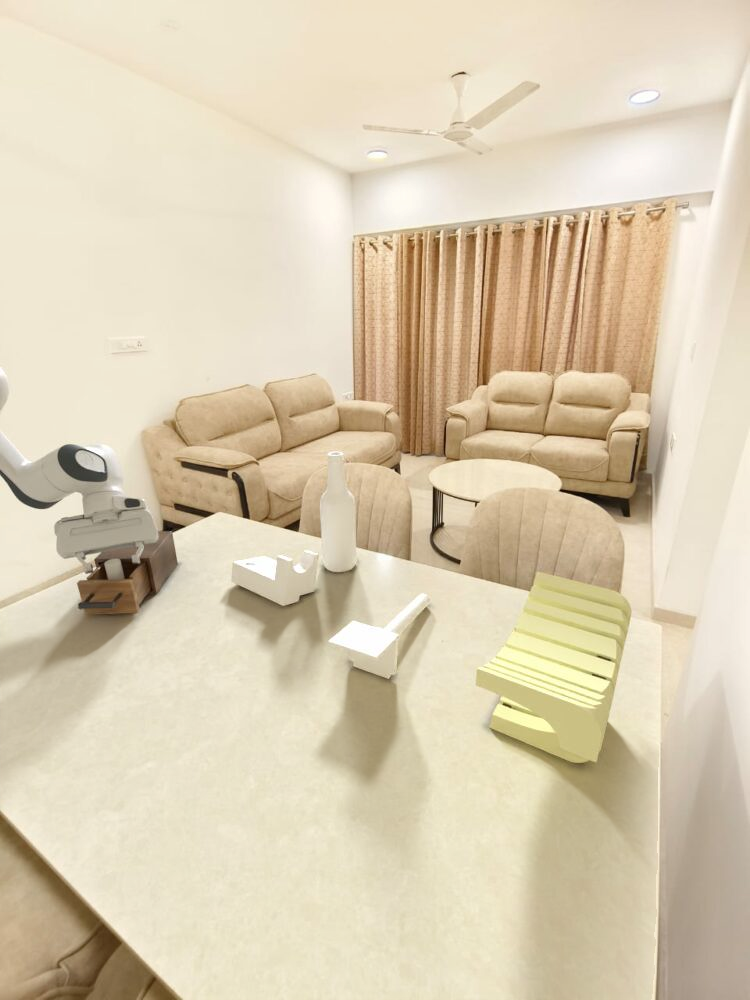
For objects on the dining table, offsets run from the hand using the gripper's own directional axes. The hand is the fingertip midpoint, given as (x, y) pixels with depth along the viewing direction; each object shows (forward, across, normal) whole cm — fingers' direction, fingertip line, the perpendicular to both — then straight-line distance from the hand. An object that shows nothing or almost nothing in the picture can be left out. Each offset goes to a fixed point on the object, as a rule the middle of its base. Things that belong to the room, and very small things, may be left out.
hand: (113, 567), depth 110 cm
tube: (+5, 0, +6) cm, 8 cm away
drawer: (+6, 0, +7) cm, 9 cm away
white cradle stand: (+12, +34, +2) cm, 36 cm away
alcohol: (+9, +52, +5) cm, 53 cm away
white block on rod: (+34, +50, -20) cm, 64 cm away
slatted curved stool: (+54, +64, -40) cm, 93 cm away
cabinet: (-1, +4, +15) cm, 16 cm away
